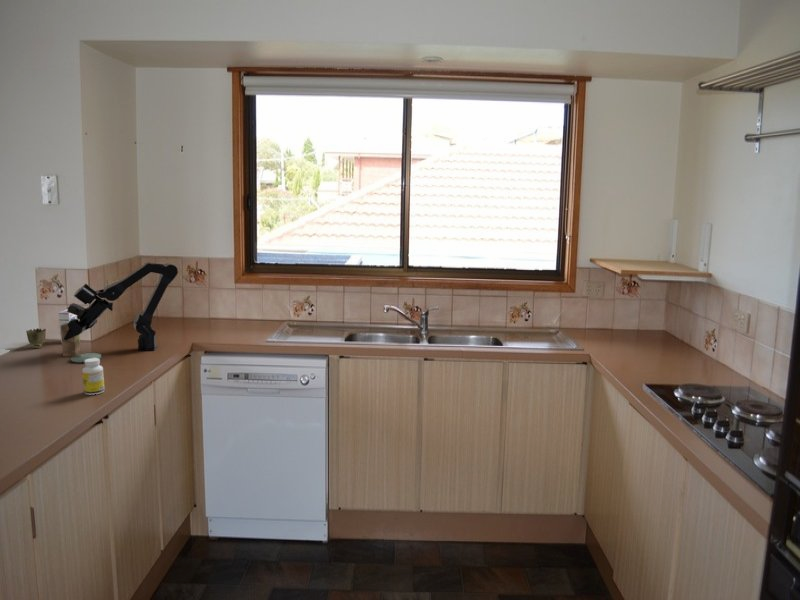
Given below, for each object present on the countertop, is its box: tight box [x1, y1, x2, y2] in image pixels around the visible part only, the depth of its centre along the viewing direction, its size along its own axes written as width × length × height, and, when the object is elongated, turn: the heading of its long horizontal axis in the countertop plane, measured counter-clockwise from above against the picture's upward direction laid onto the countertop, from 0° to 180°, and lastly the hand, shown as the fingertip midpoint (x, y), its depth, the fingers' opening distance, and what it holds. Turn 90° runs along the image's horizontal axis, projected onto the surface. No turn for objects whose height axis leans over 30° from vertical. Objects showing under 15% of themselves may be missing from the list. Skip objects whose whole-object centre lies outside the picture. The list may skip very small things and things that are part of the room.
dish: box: [70, 352, 102, 364], centre depth 269 cm, size 11×11×1 cm
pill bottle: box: [82, 358, 106, 396], centre depth 227 cm, size 6×6×12 cm
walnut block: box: [60, 323, 81, 357], centre depth 276 cm, size 5×5×13 cm
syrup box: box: [57, 309, 81, 344], centre depth 298 cm, size 6×6×14 cm
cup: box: [25, 327, 47, 349], centre depth 288 cm, size 8×7×8 cm
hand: (69, 337), depth 276 cm, fingers open, 9 cm apart
